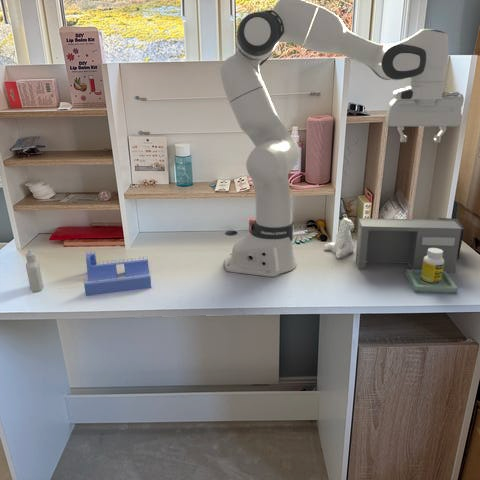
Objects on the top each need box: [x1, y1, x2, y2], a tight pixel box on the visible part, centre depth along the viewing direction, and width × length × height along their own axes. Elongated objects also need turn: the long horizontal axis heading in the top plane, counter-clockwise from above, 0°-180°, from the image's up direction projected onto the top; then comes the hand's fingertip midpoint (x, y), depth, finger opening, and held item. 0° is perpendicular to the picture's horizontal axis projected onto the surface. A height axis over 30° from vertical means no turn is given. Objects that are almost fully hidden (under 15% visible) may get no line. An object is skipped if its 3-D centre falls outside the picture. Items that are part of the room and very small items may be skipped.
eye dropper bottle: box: [25, 248, 44, 293], centre depth 132 cm, size 4×6×12 cm
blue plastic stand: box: [83, 250, 152, 297], centre depth 138 cm, size 18×16×7 cm
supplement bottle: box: [421, 248, 444, 286], centre depth 131 cm, size 5×5×10 cm
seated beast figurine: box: [324, 217, 355, 259], centre depth 154 cm, size 10×9×12 cm
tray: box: [405, 269, 458, 295], centre depth 132 cm, size 11×11×2 cm
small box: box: [437, 217, 465, 260], centre depth 152 cm, size 11×6×10 cm, turn 168°
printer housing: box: [355, 217, 462, 274], centre depth 142 cm, size 28×8×14 cm, turn 83°
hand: (420, 141), depth 136 cm, fingers open, 8 cm apart
